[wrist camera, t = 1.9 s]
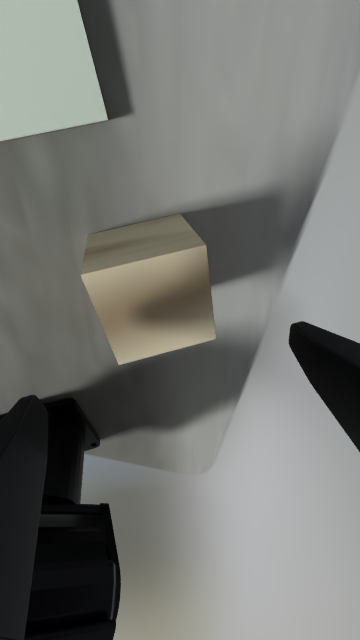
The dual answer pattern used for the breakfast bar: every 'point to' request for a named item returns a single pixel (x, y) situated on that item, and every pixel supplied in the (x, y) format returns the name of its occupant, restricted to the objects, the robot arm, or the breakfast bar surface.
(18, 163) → the breakfast bar surface
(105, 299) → the maple block
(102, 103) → the sage pad
